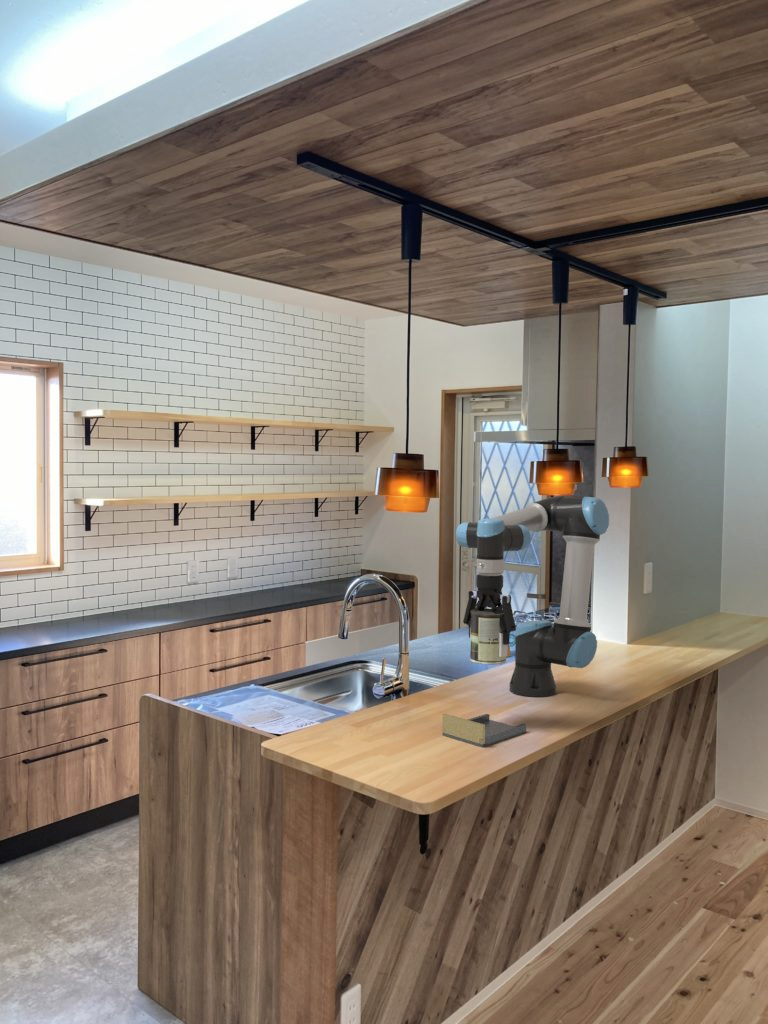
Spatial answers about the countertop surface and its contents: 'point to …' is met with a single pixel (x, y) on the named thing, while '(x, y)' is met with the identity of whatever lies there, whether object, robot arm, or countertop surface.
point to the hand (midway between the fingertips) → (488, 652)
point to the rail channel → (479, 730)
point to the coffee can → (485, 637)
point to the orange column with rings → (510, 644)
